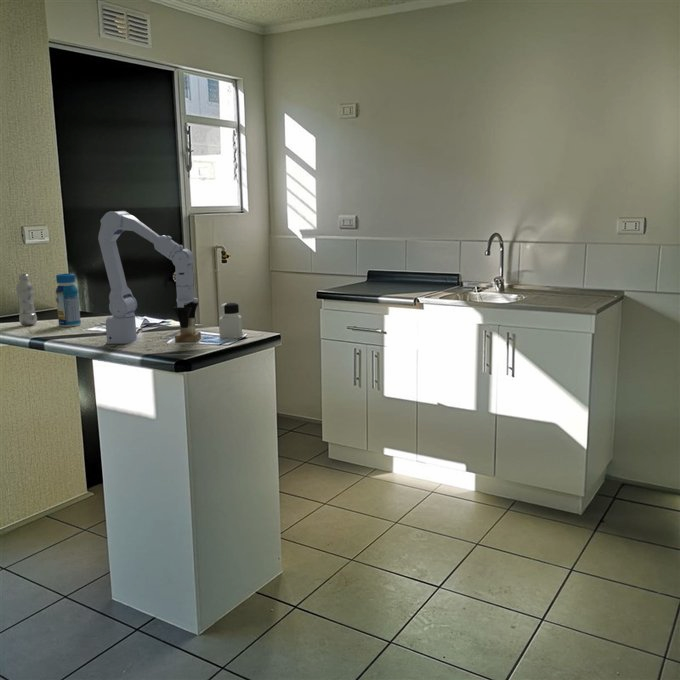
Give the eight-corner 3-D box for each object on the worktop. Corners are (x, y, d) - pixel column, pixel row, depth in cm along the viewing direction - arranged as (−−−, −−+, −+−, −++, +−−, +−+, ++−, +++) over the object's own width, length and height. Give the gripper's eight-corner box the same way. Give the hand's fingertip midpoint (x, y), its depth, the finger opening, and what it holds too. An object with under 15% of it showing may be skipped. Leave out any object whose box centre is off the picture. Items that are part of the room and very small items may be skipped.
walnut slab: (175, 342, 240) (174, 335, 240) (180, 338, 247) (180, 331, 247) (195, 342, 240) (195, 335, 239) (200, 338, 247) (200, 331, 246)
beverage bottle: (76, 327, 277) (72, 275, 273) (55, 327, 277) (50, 275, 273) (84, 323, 285) (80, 273, 281) (63, 323, 285) (58, 273, 281)
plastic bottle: (22, 327, 278) (17, 275, 274) (17, 325, 283) (12, 274, 280) (39, 325, 282) (34, 274, 278) (34, 323, 287) (29, 273, 284)
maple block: (180, 334, 241) (179, 320, 240) (184, 332, 245) (183, 318, 244) (192, 334, 241) (191, 319, 240) (195, 332, 245) (194, 317, 244)
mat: (167, 345, 238) (167, 343, 238) (177, 338, 250) (176, 336, 250) (198, 345, 237) (197, 343, 237) (206, 338, 249) (206, 336, 249)
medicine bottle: (242, 335, 255) (240, 301, 252) (240, 339, 248) (238, 304, 246) (222, 335, 255) (220, 302, 252) (219, 339, 248) (217, 305, 245)
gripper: (191, 288, 232) (193, 329, 235) (201, 282, 247) (204, 321, 249) (169, 288, 233) (172, 329, 235) (181, 283, 247) (184, 322, 250)
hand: (187, 325), depth 242 cm, fingers open, 7 cm apart
